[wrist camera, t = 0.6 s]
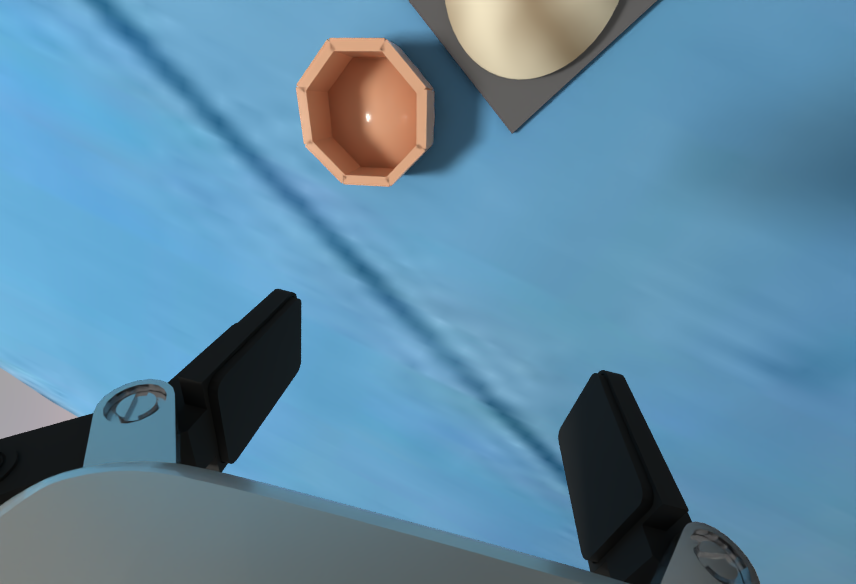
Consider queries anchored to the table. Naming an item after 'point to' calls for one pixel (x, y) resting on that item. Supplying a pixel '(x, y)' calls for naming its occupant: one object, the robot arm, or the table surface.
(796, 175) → the table surface
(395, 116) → the bowl
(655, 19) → the table surface
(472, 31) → the lid
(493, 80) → the mat
